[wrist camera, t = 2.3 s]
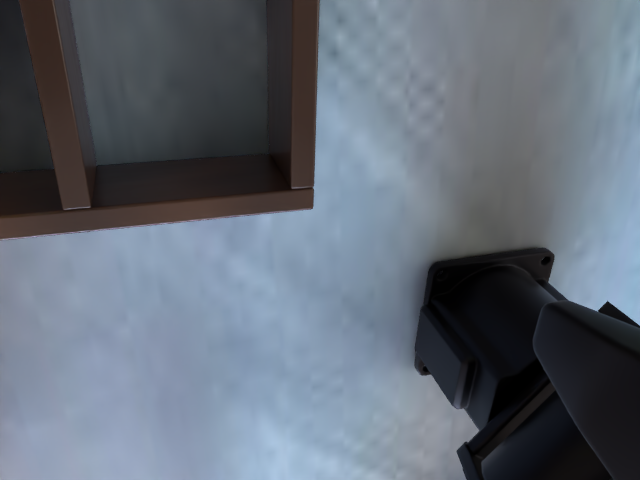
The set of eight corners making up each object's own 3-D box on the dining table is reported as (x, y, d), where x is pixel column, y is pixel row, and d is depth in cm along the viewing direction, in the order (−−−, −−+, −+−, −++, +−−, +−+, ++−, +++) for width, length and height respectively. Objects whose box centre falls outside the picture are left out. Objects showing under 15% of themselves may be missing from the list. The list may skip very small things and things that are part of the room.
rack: (291, -211, 16) (327, -240, 13) (288, 170, 22) (314, 210, 19) (-356, -277, 12) (-507, -338, 9) (-155, 206, 18) (-209, 263, 15)
